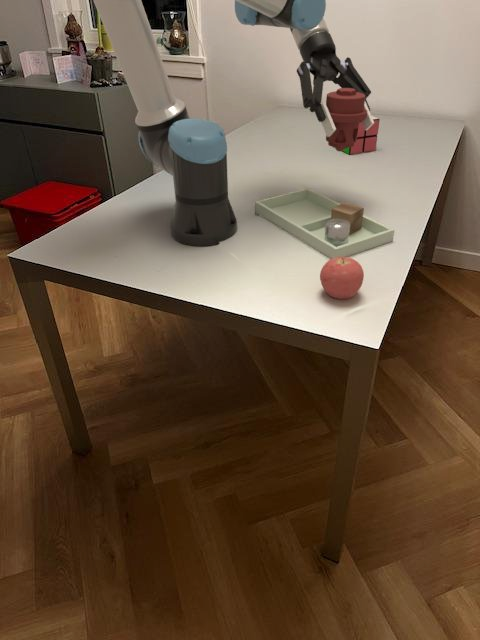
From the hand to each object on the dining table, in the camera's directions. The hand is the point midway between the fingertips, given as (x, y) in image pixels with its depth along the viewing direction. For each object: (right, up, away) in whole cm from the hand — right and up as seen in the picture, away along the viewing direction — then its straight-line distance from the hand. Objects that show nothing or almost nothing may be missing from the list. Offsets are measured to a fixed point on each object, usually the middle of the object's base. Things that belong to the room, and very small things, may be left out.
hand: (351, 129), depth 110 cm
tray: (-6, -21, +4) cm, 22 cm away
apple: (-6, -38, -19) cm, 43 cm away
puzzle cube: (+13, +14, +53) cm, 56 cm away
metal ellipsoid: (-4, -26, -5) cm, 27 cm away
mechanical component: (-1, -2, +5) cm, 6 cm away
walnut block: (-1, -22, +2) cm, 22 cm away
